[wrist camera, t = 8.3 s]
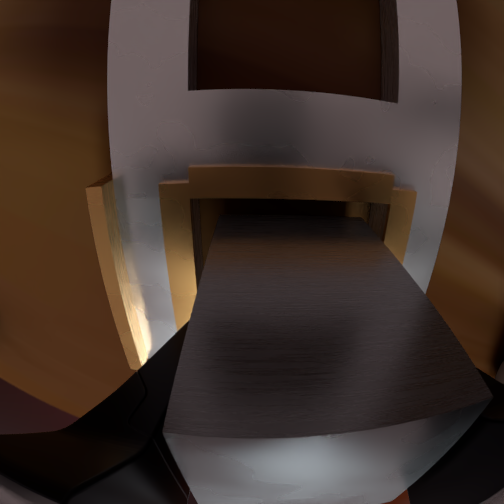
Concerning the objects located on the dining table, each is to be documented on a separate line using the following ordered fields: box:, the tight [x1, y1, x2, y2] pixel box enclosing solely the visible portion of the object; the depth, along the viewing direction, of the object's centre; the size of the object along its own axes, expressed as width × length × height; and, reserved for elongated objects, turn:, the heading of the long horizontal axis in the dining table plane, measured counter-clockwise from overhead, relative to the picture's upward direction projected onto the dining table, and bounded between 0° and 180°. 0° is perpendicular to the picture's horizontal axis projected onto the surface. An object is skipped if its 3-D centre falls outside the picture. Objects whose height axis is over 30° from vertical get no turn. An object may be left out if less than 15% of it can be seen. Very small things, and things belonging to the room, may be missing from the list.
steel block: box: [162, 214, 493, 504], centre depth 8 cm, size 5×5×8 cm
